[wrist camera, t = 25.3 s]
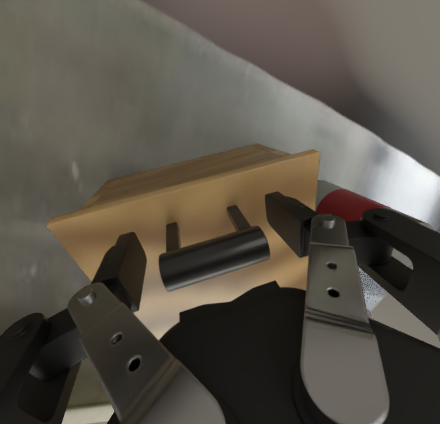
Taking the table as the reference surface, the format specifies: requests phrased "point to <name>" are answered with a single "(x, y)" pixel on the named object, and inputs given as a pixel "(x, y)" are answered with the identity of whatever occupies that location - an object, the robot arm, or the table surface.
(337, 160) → the table surface
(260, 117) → the table surface
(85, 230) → the lid
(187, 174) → the chest
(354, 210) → the can
